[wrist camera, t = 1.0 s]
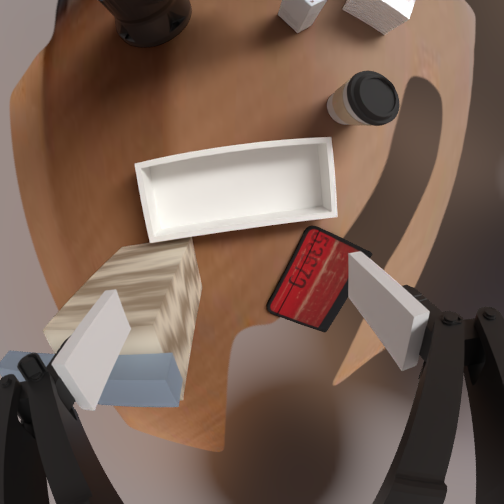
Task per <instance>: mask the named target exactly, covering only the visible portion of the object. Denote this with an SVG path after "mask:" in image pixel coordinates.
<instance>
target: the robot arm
mask: <svg viewBox="0 0 504 504" xmlns="http://www.w3.org/2000/svg"><path fill="white" fill-rule="evenodd" d="M99 1H100V2H101V3H102V4H103V5H104V6H105V7H106V8H107V9H108V11H109V12H110V13H111V14H112V15H113V16H114V17H115V23H116V30H117V32H118V34H119V36H120V37H121V38H122V39H123V40H124V41H125V42H127V43H128V44H130V45H132V46H136V47H152V46H157V45H160V44H162V43H165V42H167V41H169V40H171V39H172V38H174V37H175V36H177V35H178V34H179V33H180V32H181V31H182V30H183V29H184V28H185V27H186V25H187V24H188V22H189V20H190V17H191V13H192V9H191V4H190V1H189V0H99ZM348 258H349V283H348V297H349V298H350V300H351V301H352V302H353V304H354V305H355V306H356V307H357V309H358V310H359V312H360V313H361V314H362V316H363V317H364V319H365V320H366V321H367V323H368V324H369V325H370V327H371V328H372V330H373V331H374V332H375V334H376V335H377V336H378V338H379V339H380V341H381V342H382V343H383V345H384V346H385V348H386V349H387V350H388V352H389V353H390V355H391V356H392V358H393V359H394V360H395V362H396V363H397V365H398V366H399V368H400V369H401V371H403V370H406V369H409V368H411V367H414V366H416V365H417V362H418V359H419V355H420V356H421V357H422V358H423V360H424V363H423V366H422V369H421V372H420V375H419V383H418V387H417V391H416V395H415V398H414V402H413V405H412V408H411V412H410V415H409V418H408V421H407V424H406V427H405V430H404V433H403V436H402V439H401V441H400V444H399V447H398V449H397V452H396V455H395V457H394V459H393V462H392V464H391V466H390V469H389V471H388V473H387V475H386V478H385V480H384V482H383V484H382V486H381V488H380V490H379V492H378V494H377V496H376V498H375V500H374V502H373V504H443V503H444V500H445V497H446V493H447V486H446V484H445V483H444V480H445V475H446V472H447V468H448V464H449V461H450V457H451V452H452V448H453V444H454V439H455V434H456V429H457V423H458V417H459V410H460V403H461V394H462V384H463V372H464V377H465V381H466V386H467V391H468V397H469V403H470V409H471V415H472V423H473V432H474V442H475V455H476V504H504V318H503V316H502V315H501V313H500V312H499V311H497V310H496V309H495V308H492V307H482V308H480V309H479V310H478V311H477V314H476V318H475V319H466V320H463V318H462V317H461V316H460V315H459V314H457V313H454V312H451V311H445V312H441V311H440V310H439V309H438V308H437V307H436V306H435V305H434V304H432V303H431V302H430V301H429V300H428V299H426V298H425V297H424V296H423V295H421V293H420V292H419V291H418V290H416V289H415V288H413V287H410V286H408V285H404V286H401V285H400V284H399V283H398V282H397V281H395V280H394V279H393V278H392V277H391V276H390V275H388V274H387V273H386V272H385V271H384V270H383V269H381V268H380V267H379V266H378V265H377V264H376V263H374V262H373V261H372V260H371V259H370V258H368V257H367V256H366V255H365V254H364V253H362V252H361V251H359V252H353V253H348ZM130 330H131V327H130V325H129V322H128V320H127V317H126V315H125V312H124V310H123V307H122V304H121V302H120V299H119V296H118V293H117V290H116V289H113V290H106V291H104V293H103V294H102V295H101V296H100V298H99V299H98V300H97V302H96V303H95V304H94V305H93V307H92V308H91V309H90V311H89V312H88V313H87V315H86V316H85V317H84V318H83V320H82V321H81V322H80V324H79V325H78V327H77V328H76V329H75V331H74V332H73V333H72V335H71V336H69V337H68V338H67V339H66V340H65V341H64V342H63V344H62V345H61V346H60V348H59V349H58V351H57V353H55V355H54V356H53V358H52V359H51V361H50V362H49V364H48V365H47V367H46V366H45V364H44V363H43V361H42V359H41V358H40V356H39V354H37V353H30V354H27V355H26V356H24V357H23V358H22V359H21V360H20V361H19V362H18V365H17V368H18V369H19V371H20V373H21V374H22V376H23V377H24V379H25V380H26V381H22V382H19V381H18V379H17V378H16V376H15V375H14V374H8V375H5V376H3V377H2V378H1V380H0V504H49V497H48V489H47V480H48V483H49V485H50V488H51V491H52V494H53V496H54V499H55V501H56V504H124V503H123V501H122V500H121V498H120V497H119V495H118V494H117V492H116V490H115V489H114V487H113V486H112V484H111V482H110V480H109V479H108V477H107V475H106V473H105V472H104V470H103V468H102V466H101V464H100V462H99V460H98V458H97V456H96V454H95V453H94V450H93V449H92V446H91V444H90V442H89V440H88V438H87V435H86V433H85V431H84V429H83V426H82V424H81V422H80V419H79V417H78V414H77V412H76V410H75V409H74V407H73V404H74V402H75V401H76V402H77V403H78V405H79V406H80V408H81V409H85V410H95V408H96V406H97V403H98V401H99V399H100V396H101V394H102V391H103V389H104V387H105V384H106V382H107V380H108V378H109V375H110V373H111V371H112V369H113V366H114V364H115V362H116V360H117V358H118V356H119V353H120V351H121V349H122V347H123V345H124V343H125V341H126V339H127V337H128V335H129V332H130ZM17 415H18V416H19V418H20V419H21V423H20V422H19V420H18V417H17ZM46 477H47V479H46Z"/></svg>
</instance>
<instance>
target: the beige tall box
mask: <svg viewBox="0 0 504 504" xmlns="http://www.w3.org/2000/svg"><path fill="white" fill-rule="evenodd" d="M113 289H116V290H117V293H118V296H119V299H120V302H121V304H122V307H123V310H124V312H125V315H126V317H127V320H128V322H129V325H130V327H131V330H130V332H129V335H128V337H127V339H126V341H125V343H124V345H123V347H122V349H121V351H120V353H119V355H134V354H157V353H173V355H174V358H175V361H176V363H177V366H178V369H179V371H180V374H181V376H182V379H183V382H182V388H181V394H180V400H183V396H184V389H185V383H186V376H187V370H188V364H189V358H190V352H191V346H192V340H193V334H194V329H195V323H196V318H197V312H198V307H199V301H200V296H201V291H202V284H201V279H200V275H199V270H198V265H197V260H196V255H195V250H194V245H193V240H192V237H186V238H179V239H173V240H166V241H160V242H154V243H145V244H138V245H132V246H127V247H122V248H121V249H119V250H118V251H117V252H116V253H115V254H114V255H113V256H112V257H111V258H110V259H109V260H108V261H107V262H106V263H105V264H104V265H103V266H102V267H101V268H100V269H99V270H98V271H97V272H96V273H95V274H94V275H93V276H92V277H91V278H90V279H89V280H88V281H87V282H86V283H85V284H84V285H83V286H82V287H81V288H80V289H79V290H78V291H77V292H76V293H75V294H74V295H73V296H72V297H71V299H70V300H69V301H68V302H67V303H66V304H65V305H64V306H63V307H62V308H61V309H60V311H59V312H58V313H57V314H56V315H55V316H54V318H52V320H51V321H50V322H49V323H48V324H47V325H46V326H45V328H44V329H43V332H44V335H45V337H46V339H47V341H48V343H49V344H50V346H51V348H52V350H53V352H54V354H55V353H57V351H58V349H59V348H60V346H61V345H62V344H63V342H64V341H65V340H66V339H67V338H68V337H69V336H71V335H72V333H73V332H74V331H75V329H76V328H77V327H78V325H79V324H80V322H81V321H82V320H83V318H84V317H85V316H86V315H87V313H88V312H89V311H90V309H91V308H92V307H93V305H94V304H95V303H96V302H97V300H98V299H99V298H100V296H101V295H102V294H103V293H104V291H106V290H113Z"/></svg>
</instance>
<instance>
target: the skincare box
mask: <svg viewBox="0 0 504 504" xmlns="http://www.w3.org/2000/svg"><path fill="white" fill-rule="evenodd" d="M326 1H327V0H282V2H281V5H280V9H279V12H278V16H280V17H281V18H282V19H283V20H284V21H285V22H286V23H287V24H288V25H289V26H290V27H291V28H293V29H294V30H295V31H296V32H297V33H299V32H301V31H303V30H304V29H306V28H308V27H310V26H311V25H312V24H313V22H314V21H315V19H316V17H317V16H318V14H319V13H320V11H321V9H322V8H323V6H324V5H325V3H326Z"/></svg>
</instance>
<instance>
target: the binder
mask: <svg viewBox="0 0 504 504" xmlns="http://www.w3.org/2000/svg"><path fill="white" fill-rule="evenodd" d="M359 251H361V252H362V253H364V254H365V255H366V256H367V257H368V258H370V257H371V256H372V253H371V252H370V251H368V250H366V249H363V248H362V247H360V246H357V245H355V244H353V243H351V242H349V241H347V240H345V239H343V238H341V237H339V236H337V235H334V234H332V233H330V232H328V231H326V230H323V229H321V228H319V227H317V226H309V227H308V228H306V230H305V231H304V233H303V236H302V238H301V240H300V242H299V244H298V246H297V248H296V250H295V252H294V254H293V256H292V258H291V260H290V262H289V264H288V266H287V268H286V270H285V272H284V274H283V276H282V278H281V280H280V282H279V283H278V285H277V287H276V289H275V291H274V293H273V294H272V296H271V297H270V299H269V301H268V303H267V309H268V311H269V312H270V313H271V314H274V315H276V316H279V317H282V318H285V319H287V320H290V321H293V322H296V323H298V324H301V325H304V326H307V327H310V328H313V329H316V330H319V331H322V332H326V331H327V330H328V328H329V327H330V325H331V324H332V322H333V320H334V319H335V317H336V316H337V314H338V312H339V311H340V309H341V308H342V306H343V304H344V303H345V301H346V299H347V297H348V283H349V258H348V253H353V252H359Z"/></svg>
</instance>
